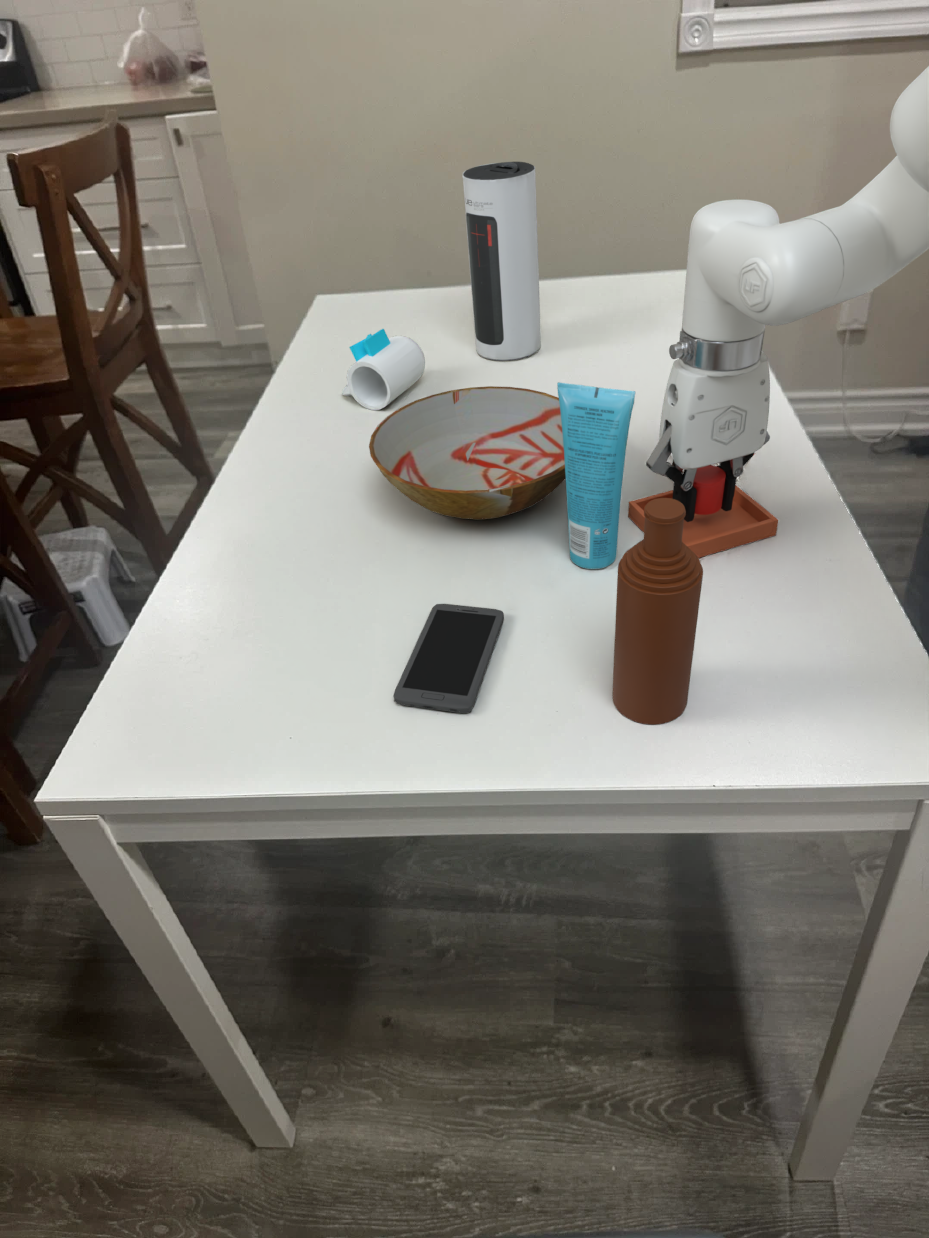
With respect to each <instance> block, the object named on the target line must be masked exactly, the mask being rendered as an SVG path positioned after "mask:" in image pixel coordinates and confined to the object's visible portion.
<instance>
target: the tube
mask: <svg viewBox="0 0 929 1238" xmlns="http://www.w3.org/2000/svg"><path fill="white" fill-rule="evenodd" d="M556 389H557V397H558V398H559V404H560V412H561V423H562V433H563V446H564V460H565V475H566V479H565V490H566V508H567V527H568V547H569V558H570V561H571V562H572V563H573V564H574V565H576V566H578V567H579V568H583V569H587V570H601V569H605V568H607V567H609V566H610V565H612V564H613V563H615V561H616V559H617V552H618V540H619V539H618V537H619V527H620V526H619V525H620V515H621V502H622V489H623V481H624V480H623V479H624V472H625V471H624V470H625V462H626V453H627V445H628V438H629V430H630V424H631V418H632V413H633V409H634V405H635V399H636V391H635V390H626V389H619V388H618V389H617V388H607V387H601V386H600V387H597V386H592V385H583V384H576V383H567V382H560V381H559V382H557V386H556Z"/></svg>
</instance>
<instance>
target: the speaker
mask: <svg viewBox="0 0 929 1238" xmlns="http://www.w3.org/2000/svg"><path fill="white" fill-rule="evenodd" d="M462 184H463V185H462V186H463V199H464V211H465V224H466V225H465V226H466V238H467V250H468V263H469V264H468V265H469V276H470V289H471V301H472V314H473V327H474V339H475V351H476V353H477V354H478V355H479V356H480V357H482V358H483V359H486V360H490V361H496V362H498V361H499V362H507V361H518V360H523V359H525V358H527V359H528V358H530V357H532V356H534V355H535V354H537V353H538V352H539V351H540V349H541V346H542V335H541V332H542V331H541V304H540V303H541V299H540V270H539V268H540V267H539V244H538V243H539V239H538V208H537V204H538V203H537V177H536V166H535V165H533V164H532V163H529V162H525V161H503V162H493V163H485V164H480V165H477V166H473V167H470V168H468V169H465V170H464V171H463V172H462Z"/></svg>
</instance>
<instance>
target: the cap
mask: <svg viewBox="0 0 929 1238" xmlns="http://www.w3.org/2000/svg"><path fill="white" fill-rule="evenodd" d="M717 466H718V465H715V464H713V465H709V466H705V467H701V468H697V472H696V475H695V479H694V483H693V487H694V488H696V490H697V496H696V505H695V514H699V515H708V514H713V513H716V512H718V511H719V510H720V509H721V507H722V500H723V492H724V485H725V477H726V474H725V472H724V470H722V469H721V468H719V467H717Z"/></svg>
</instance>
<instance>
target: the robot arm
mask: <svg viewBox="0 0 929 1238" xmlns="http://www.w3.org/2000/svg"><path fill="white" fill-rule="evenodd" d="M889 136H890V140H891V144H892V147H893V149H894V152H895V154H896V156H895V157H894V158H893V159H892V160H891V161H890V162H889V163H888V164H887V165H886V166H885V167H884V168H883V169H882V170H880V172H879V173H878V174H877V175H875V177H874V178H873V179H872V180H870V181H869V182H868V183H867V184H866V185H865V186H863V187H862V189H860V190H859V191H858V192H857V193H856V194H854V195H853V196H852V197H851V198H850V199H848V200H847V201H845V202H844V203H843V204H841V205H839V206H836V207H833V208H828V209H825V210H822V211H819V212H817V213H814V214H809V215H807V216H805V217H800V218H798V219H796V220H795V219H794V220H790V221H786V222H782V223H780V217H779V214H778V212H777V210H776V209H775V208H774V207H773V206H771V205H770V204H768V203H765V202H762V201H758V200H752V199H724V200H719V201H714V202H712V203H708V204H706V205H704V206H702V207H701V208H700V209H698V210H697V212H696V213H695V214H694V216H693V217H692V220H691V223H690V227H689V235H688V246H687V247H688V248H687V258H686V259H687V260H686V271H685V272H686V273H685V283H684V293H683V294H684V295H683V307H682V319H681V330H680V331H679V341H677V342H676V343H674V344H671V345H670V346H669V348H668V353H669V357H670V359H672V360H674V361H673V362H672V365H671V369H670V372H669V376H668V379H667V382H666V386H665V387H666V388H665V390H664V396H663V402H662V406H661V407H662V408H661V415H660V421H659V430H658V431H659V433H658V442H657V444H655V445H656V446H655V447H654V449H653V450H652V451H651V453H650V456H648V458H647V460H646V462H645V465H646V467H647V468H648V469H649V470H650V471H651V472H652V473H655V474H656V475H657V474H658V475H660V476H662V477H666V478H667V479H669V480H670V481H671V482H672V483H673V489H672V490H673V498H672V499H675V500H677V501H679V502H681V503H682V504H683V505H684V507H685V510H686V515H685V517H684V520H685V521H686V522H690V521H693V519H694V514H695V505H696V496H697V490H696V488H694V487H693V483H694V479H695V475H696V472H697V468H701V467H705V466H709V465H716V464H718V465H716V466H717V467H719V468H721V469H722V470H724V472H725V474H726V477H725V485H724V492H723V500H722V507H721V509H723V510H724V511H729V510H731V509H732V502H733V497H734V493H735V486H737V478H739V477H740V476H742V474H743V473H744V467H745V466H746V464H747V463H748V462H749V461H750V460H751V459H752V458H753V457H754V455H755V454H756V452H758V451H759V450H760V449H762V448H763V447H764V446H765V445H766V444H767V443H768V442H769V441H770V439H771V436H770V434H769V431H768V425H769V415H770V404H771V403H770V401H771V380H770V379H771V377H770V374H771V373H770V365H769V358H768V355H767V354H766V353H764V352H762V351H763V344H764V339H765V332H766V331H765V330H766V326H769V327H770V326H774V327H776V326H777V327H778V326H784V325H789V324H791V323H794V322H797V321H800V320H802V319H805V318H807V317H809V316H812V315H815V314H817V313H819V312H822V311H823V310H827V309H829V308H832V307H834V306H837V305H839V304H842V303H844V302H847V301H849V300H853V299H856V298H858V297H860V296H863V295H865V294H867V293H869V292H871V291H873V290H875V289H877V288H878V287H880V286H881V285H884V283H886V282H887V281H888V280H890V279H891V278H893V277H894V276H896V274H898V273H900V271H902V270H903V269H904V268H906V267H907V266H908V265H910V264H911V263H912V262H914V261H915V260H916V259H918V258H919V257H920V256H921V255H923V254H924V253H925V252H927V251H928V250H929V65H928V66H926V68H925V69H924V70H923V71H922V72H921V73H920V74H919V75H918V76H917V77H916V78H914V79H913V81H911V82H910V83H909V85H908V86H907V87H906V88H905V89H904V90H903V91H902V92H901V93H900V95H899V96H898V98H897V100H896V101H895V103H894V105H893V107H892V109H891V113H890V119H889ZM670 456H672V462H669V461H668V459H669V458H670Z"/></svg>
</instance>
